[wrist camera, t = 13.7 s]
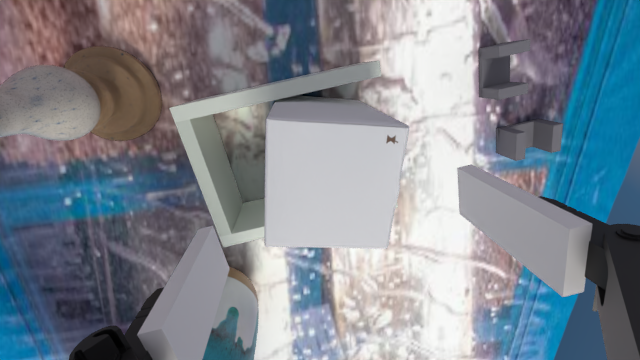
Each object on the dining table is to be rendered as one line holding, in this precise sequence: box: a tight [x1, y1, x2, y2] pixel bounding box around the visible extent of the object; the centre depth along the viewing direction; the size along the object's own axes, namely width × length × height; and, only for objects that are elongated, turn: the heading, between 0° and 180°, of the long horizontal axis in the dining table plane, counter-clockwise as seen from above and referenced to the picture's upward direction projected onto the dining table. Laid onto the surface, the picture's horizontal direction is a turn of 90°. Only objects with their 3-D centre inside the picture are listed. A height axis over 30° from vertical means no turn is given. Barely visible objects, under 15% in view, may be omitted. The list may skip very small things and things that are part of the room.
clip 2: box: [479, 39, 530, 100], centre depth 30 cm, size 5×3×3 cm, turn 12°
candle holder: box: [0, 46, 162, 141], centre depth 20 cm, size 9×9×20 cm
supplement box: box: [265, 96, 409, 249], centre depth 26 cm, size 9×9×15 cm
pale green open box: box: [169, 61, 398, 247], centre depth 29 cm, size 17×13×7 cm
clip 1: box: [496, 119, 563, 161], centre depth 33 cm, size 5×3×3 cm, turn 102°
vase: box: [202, 267, 259, 360], centre depth 29 cm, size 11×11×19 cm
